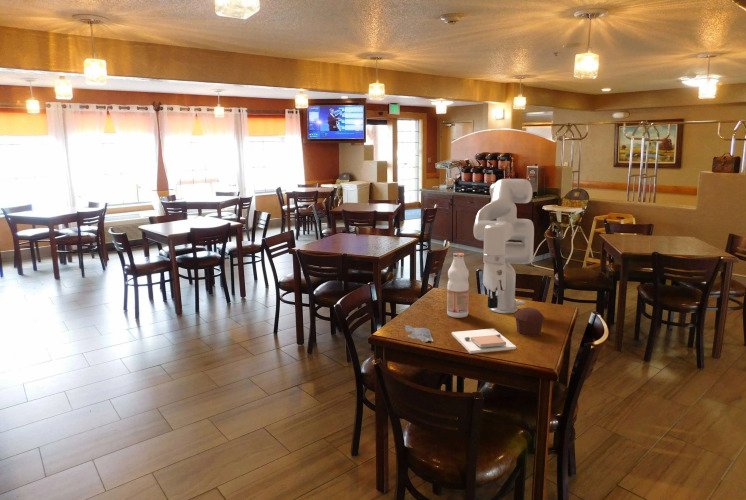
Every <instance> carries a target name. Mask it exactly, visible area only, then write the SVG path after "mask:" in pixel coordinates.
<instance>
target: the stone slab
mask: <svg viewBox="0 0 746 500" xmlns="http://www.w3.org/2000/svg"><path fill="white" fill-rule="evenodd" d="M404 328H405V330H404V331H405V334H407V332H408V333H409V332H410V333H411V334H410V333H409V334H408V335H407V338H410V339H413V340H414V339H416V340H418V341H421V343H426V342H432V343H434V339H433V337H432V333H431V330H430V329H429V328H427V327H413V326H411V325H410V324H406V325H404Z"/></svg>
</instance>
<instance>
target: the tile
mask: <svg viewBox="0 0 746 500" xmlns="http://www.w3.org/2000/svg"><path fill="white" fill-rule="evenodd" d="M471 341H473V342H474V343H475V344H477V345H478V346H479V347H492V346H502V345H506V342H505V341H504V340H502V339H501V338H499V337H497V336H496V335H489V336H478V337H471Z"/></svg>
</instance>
